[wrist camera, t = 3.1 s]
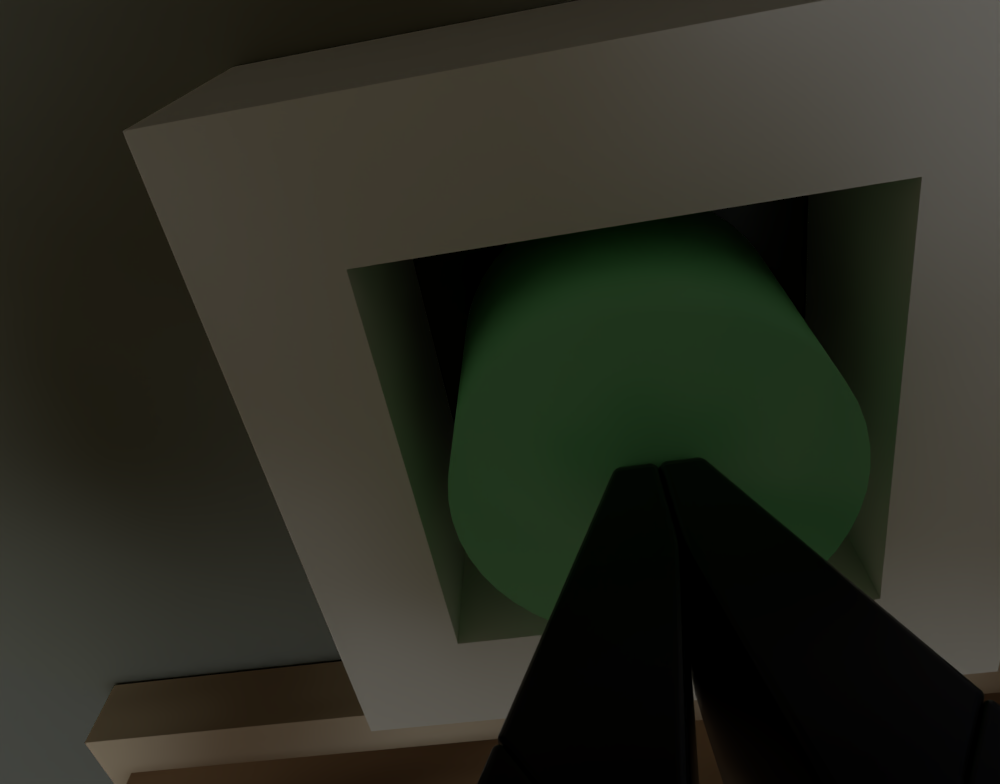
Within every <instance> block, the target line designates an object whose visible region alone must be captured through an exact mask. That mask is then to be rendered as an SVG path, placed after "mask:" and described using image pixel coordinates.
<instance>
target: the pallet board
mask: <svg viewBox="0 0 1000 784" xmlns="http://www.w3.org/2000/svg"><path fill="white" fill-rule="evenodd" d="M964 676H965V677H966V678H967V679H968V680H970V681H971V682H972V683H973V684H974V685H976V686H977V687H978V688H979V689H980V690H982V691H983V693H984V696H985V697H984V702H985V701H986V700H994V701H995V702H997V703H998V704H999V705H1000V663H999V668H998V671H997V672H986V673H976V674H966V675H964ZM983 704H984V703H983ZM694 709H695V722H696V738H697V755H698V772H699V784H723V781H722V778H721V775H720V772H719V769H718V766H717V763H716V759H715V756H714V753H713V750H712V747H711V744H710V741H709V738H708V735H707V731H706V728H705V725H704V722H703V719H702V715H701V712H700V709H699V705H698V702H697V700H694ZM505 719H506V718H505ZM505 719H495V720H484V721H474V722H463V723H453V724H442V725H432V726H421V727H411V728H401V729H390V730H380V731H371V730H370V727H369V725H368V722H367V720H366V718H365V715H364V713H363V710H362V708H361V705H360V703H359V701H358V698H357V696H356V693H355V691H354V689H353V686H352V684H351V681H350V679H349V677H348V674H347V672H346V669H345V667H344V665H343V662H342V661H339V662H330V663H320V664H311V665H301V666H292V667H282V668H273V669H263V670H254V671H245V672H235V673H226V674H216V675H207V676H197V677H188V678H178V679H169V680H160V681H150V682H141V683H131V684H122V685H114V687H113V689H112V691H111V693H110V695H109V697H108V699H107V701H106V702H105V704H104V706H103V708H102V710H101V712H100V714H99V716H98V718H97V720H96V722H95V724H94V726H93V728H92V730H91V732H90V734H89V736H88V737H87V739H86V741H85V744H86V745H87V747H88V748H89V749H90V751H91V752H92V754H93V755H94V756H95V758H96V759H97V761H98V762H99V763H100V765H101V766H102V768H103V769H104V770H105V772H106V773H107V774H108V776H109V777H110V779H111V780H112V781H113V783H114V784H477V782H478V780H479V778H480V775H481V773H482V771H483V769H484V766H485V764H486V762H487V759H488V757H489V755H490V752H491V750H492V748H493V747H494V746H495V745H499V744H498V735H499V733H500V731H501V728H502V726H503V724H504V721H505Z"/></svg>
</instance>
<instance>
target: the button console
mask: <svg viewBox="0 0 1000 784" xmlns="http://www.w3.org/2000/svg"><path fill="white" fill-rule="evenodd" d="M122 132H123V134H124V137H125V139H126V142H127V144H128V146H129V149H130V151H131V154H132V156H133V158H134V161H135V163H136V166H137V168H138V170H139V173H140V175H141V178H142V180H143V183H144V185H145V187H146V190H147V192H148V195H149V197H150V199H151V202H152V204H153V207H154V209H155V211H156V214H157V216H158V219H159V221H160V223H161V226H162V228H163V231H164V233H165V236H166V238H167V240H168V243H169V245H170V248H171V250H172V252H173V255H174V257H175V260H176V262H177V264H178V267H179V269H180V272H181V274H182V276H183V279H184V281H185V284H186V286H187V289H188V291H189V293H190V296H191V298H192V301H193V303H194V305H195V308H196V310H197V313H198V315H199V317H200V320H201V322H202V325H203V327H204V330H205V332H206V334H207V337H208V339H209V342H210V344H211V346H212V349H213V351H214V354H215V356H216V358H217V361H218V363H219V366H220V368H221V370H222V373H223V375H224V378H225V380H226V383H227V385H228V387H229V390H230V392H231V395H232V397H233V399H234V402H235V404H236V407H237V409H238V411H239V414H240V416H241V419H242V421H243V424H244V426H245V428H246V431H247V433H248V436H249V438H250V440H251V443H252V445H253V448H254V450H255V452H256V455H257V457H258V460H259V462H260V464H261V467H262V469H263V472H264V474H265V477H266V479H267V481H268V484H269V486H270V489H271V491H272V493H273V496H274V498H275V501H276V503H277V505H278V508H279V510H280V513H281V515H282V518H283V520H284V522H285V525H286V527H287V530H288V532H289V534H290V537H291V539H292V542H293V544H294V546H295V549H296V551H297V554H298V556H299V558H300V561H301V563H302V566H303V568H304V571H305V573H306V575H307V578H308V580H309V583H310V585H311V587H312V590H313V592H314V595H315V597H316V599H317V602H318V604H319V607H320V609H321V612H322V614H323V616H324V619H325V621H326V624H327V626H328V628H329V631H330V633H331V636H332V638H333V640H334V643H335V645H336V648H337V650H338V652H339V655H340V657H341V660H342V662H343V665H344V667H345V669H346V672H347V674H348V677H349V679H350V681H351V684H352V686H353V689H354V691H355V693H356V696H357V698H358V701H359V703H360V705H361V708H362V710H363V713H364V715H365V718H366V720H367V722H368V725H369V727H370V730H371V731H380V730H390V729H401V728H411V727H421V726H432V725H442V724H453V723H463V722H474V721H484V720H495V719H505V718H506V717H507V714H508V712H509V710H510V708H511V705H512V703H513V701H514V698H515V696H516V694H517V691H518V689H519V687H520V684H521V682H522V680H523V678H524V675H525V673H526V671H527V668H528V666H529V664H530V661H531V659H532V657H533V655H534V652H535V650H536V648H537V645H538V643H539V641H540V638H541V636H542V634H543V631H544V629H545V627H546V625H547V622H548V620H546V619H544V618H542V617H540V616H538V615H535V614H533V613H531V612H530V611H528V610H526V609H524V608H523V607H521V606H519V605H518V604H516V603H514V602H513V601H512V600H510V599H509V598H508V597H506V596H505V595H504V594H502V593H501V592H500V591H498V590H497V589H496V588H495V587H494V586H493V585H492V584H491V583H490V582H489V581H488V580H487V579H486V578H485V577H484V576H483V575H482V574H481V573H480V571H479V570H478V569H477V567H476V566H475V565H474V564H473V562H472V561H471V560H470V558H469V557H468V555H467V553H466V551H465V549H464V548H463V546H462V544H461V542H460V540H459V538H458V535H457V532H456V530H455V527H454V524H453V521H452V517H451V512H450V506H449V501H448V473H449V464H450V456H451V448H452V440H453V432H454V422H453V418H452V414H451V410H450V406H449V402H448V398H447V394H446V390H445V386H444V382H443V378H442V374H441V370H440V366H439V362H438V358H437V354H436V350H435V346H434V342H433V338H432V334H431V330H430V326H429V322H428V318H427V314H426V310H425V306H424V302H423V298H422V294H421V290H420V286H419V282H418V278H417V274H416V270H415V266H414V262H413V259H414V258H421V257H427V256H433V255H439V254H445V253H452V252H458V251H464V250H470V249H476V248H483V247H489V246H495V245H501V244H507V243H514V242H520V241H526V240H532V239H539V238H545V237H551V236H557V235H563V234H570V233H576V232H582V231H588V230H594V229H601V228H607V227H613V226H619V225H625V224H632V223H638V222H644V221H650V220H656V219H663V218H669V217H675V216H681V215H687V214H694V213H700V212H706V211H712V210H718V209H725V208H731V207H737V206H743V205H750V204H756V203H762V202H768V201H774V200H781V199H787V198H793V197H799V196H805V195H808V223H807V264H806V305H805V322H806V323H807V325H808V326H809V328H810V329H811V331H812V332H813V334H814V335H815V337H816V338H817V339H818V341H819V342H820V344H821V345H822V347H823V348H824V350H825V351H826V353H827V354H828V356H829V357H830V359H831V360H832V362H833V363H834V365H835V366H836V367H837V369H838V370H839V372H840V373H841V375H842V376H843V378H844V379H845V381H846V382H847V384H848V386H849V387H850V389H851V391H852V392H853V394H854V396H855V397H856V399H857V401H858V403H859V405H860V408H861V411H862V413H863V416H864V419H865V421H866V424H867V430H868V435H869V441H870V463H871V468H870V474H869V480H868V487H867V491H866V494H865V497H864V500H863V503H862V506H861V509H860V512H859V514H858V516H857V518H856V520H855V522H854V524H853V526H852V528H851V530H850V532H849V533H848V535H847V536H846V537H845V539H844V540H843V542H842V543H841V545H840V546H839V548H838V549H837V550H836V552H835V553H834V554H833V555H832V556H831V557H830V558H829V559H828V561H827V562H829V563H830V564H831V565H832V566H833V567H835V568H836V569H837V570H838V571H839V572H841V573H842V574H843V575H844V576H845V577H847V578H848V579H849V580H850V581H851V582H853V583H854V584H855V585H856V586H857V587H858V588H860V589H861V590H862V591H863V592H864V593H866V594H867V595H868V596H869V597H870V598H872V599H873V600H874V601H875V602H876V603H878V604H879V605H880V606H881V607H882V608H884V609H885V610H886V611H887V612H888V613H890V614H891V615H892V616H893V617H894V618H896V619H897V620H898V621H899V622H900V623H902V624H903V625H904V626H905V627H906V628H907V629H909V630H910V631H911V632H912V633H913V634H915V635H916V636H917V637H918V638H919V639H921V640H922V641H923V642H924V643H925V644H927V645H928V646H929V647H930V648H931V649H933V650H934V651H935V652H936V653H937V654H939V655H940V656H941V657H942V658H943V659H945V660H946V661H947V662H948V663H949V664H951V665H952V666H953V667H954V668H955V669H957V670H958V671H959V672H960V673H961V674H962V675H966V674H976V673H986V672H997V671H998V668H999V663H1000V0H577V1H571V2H566V3H561V4H556V5H551V6H546V7H540V8H535V9H530V10H525V11H520V12H514V13H509V14H504V15H499V16H494V17H488V18H483V19H478V20H473V21H468V22H463V23H457V24H452V25H447V26H442V27H437V28H431V29H426V30H421V31H416V32H411V33H406V34H400V35H395V36H390V37H385V38H380V39H374V40H369V41H364V42H359V43H354V44H349V45H343V46H338V47H333V48H328V49H323V50H317V51H312V52H307V53H302V54H297V55H291V56H286V57H281V58H276V59H271V60H266V61H260V62H255V63H250V64H245V65H240V66H234V67H232V68H230V69H228V70H226V71H225V72H223V73H221V74H220V75H218V76H216V77H214V78H213V79H211V80H209V81H208V82H206V83H204V84H202V85H201V86H199V87H197V88H196V89H194V90H192V91H190V92H189V93H187V94H185V95H184V96H182V97H180V98H178V99H177V100H175V101H173V102H172V103H170V104H168V105H166V106H165V107H163V108H161V109H160V110H158V111H156V112H154V113H153V114H151V115H149V116H148V117H146V118H144V119H142V120H141V121H139V122H137V123H136V124H134V125H132V126H130V127H129V128H127V129H125V130H124V131H122ZM692 684H693V682H692ZM693 696H694V700H697V698H696V695H695V690H694V686H693Z"/></svg>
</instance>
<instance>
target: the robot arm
mask: <svg viewBox="0 0 1000 784" xmlns="http://www.w3.org/2000/svg"><path fill="white" fill-rule="evenodd" d="M692 682H693V684H692ZM693 686H694V690H695V695H696V698H697V702H698V705H699V709H700V712H701V715H702V719H703V722H704V725H705V728H706V731H707V735H708V738H709V741H710V744H711V747H712V750H713V753H714V756H715V759H716V763H717V766H718V769H719V772H720V775H721V778H722V781H723V784H1000V705H999V704H998V703H997V702H995V701H994V700H986V701H985V702H984V697H985V696H984V693H983V691H982V690H980V689H979V688H978V687H977V686H976V685H974V684H973V683H972V682H971V681H970V680H968V679H967V678H966V677H965V676H964V675H962V674H961V673H960V672H959V671H958V670H957V669H955V668H954V667H953V666H952V665H951V664H949V663H948V662H947V661H946V660H945V659H943V658H942V657H941V656H940V655H939V654H937V653H936V652H935V651H934V650H933V649H931V648H930V647H929V646H928V645H927V644H925V643H924V642H923V641H922V640H921V639H919V638H918V637H917V636H916V635H915V634H913V633H912V632H911V631H910V630H909V629H907V628H906V627H905V626H904V625H903V624H902V623H900V622H899V621H898V620H897V619H896V618H894V617H893V616H892V615H891V614H890V613H888V612H887V611H886V610H885V609H884V608H882V607H881V606H880V605H879V604H878V603H876V602H875V601H874V600H873V599H872V598H870V597H869V596H868V595H867V594H866V593H864V592H863V591H862V590H861V589H860V588H858V587H857V586H856V585H855V584H854V583H853V582H851V581H850V580H849V579H848V578H847V577H845V576H844V575H843V574H842V573H841V572H839V571H838V570H837V569H836V568H835V567H833V566H832V565H831V564H830V563H829V562H827V561H826V560H825V559H824V558H823V557H821V556H820V555H819V554H818V553H817V552H815V551H814V550H813V549H812V548H811V547H809V546H808V545H807V544H806V543H805V542H803V541H802V540H801V539H800V538H799V537H798V536H796V535H795V534H794V533H793V532H792V531H790V530H789V529H788V528H787V527H786V526H784V525H783V524H782V523H781V522H780V521H778V520H777V519H776V518H775V517H774V516H772V515H771V514H770V513H769V512H768V511H766V510H765V509H764V508H763V507H762V506H760V505H759V504H758V503H757V502H756V501H754V500H753V499H752V498H751V497H750V496H748V495H747V494H746V493H745V492H744V491H743V490H741V489H740V488H739V487H738V486H737V485H735V484H734V483H733V482H732V481H731V480H729V479H728V478H727V477H726V476H725V475H723V474H722V473H721V472H720V471H719V470H717V469H716V468H715V467H714V466H713V465H711V464H710V463H709V462H708V461H707V460H705V459H703V458H700V457H695V458H687V459H679V460H672V461H665V462H663V463H662V464H661V465H660V467H659V468H658V467H657V466H656V465H655V464H652V463H648V464H640V465H633V466H625V467H619V468H617V469H615V470H614V471H613V473H612V475H611V477H610V479H609V482H608V484H607V486H606V489H605V491H604V493H603V496H602V498H601V500H600V502H599V505H598V507H597V509H596V512H595V514H594V516H593V519H592V521H591V523H590V525H589V528H588V530H587V532H586V535H585V537H584V539H583V542H582V544H581V546H580V549H579V551H578V553H577V555H576V558H575V560H574V562H573V565H572V567H571V569H570V572H569V574H568V576H567V578H566V581H565V583H564V585H563V588H562V590H561V592H560V595H559V597H558V599H557V602H556V604H555V606H554V608H553V611H552V613H551V615H550V618H549V620H548V622H547V625H546V627H545V629H544V631H543V634H542V636H541V638H540V641H539V643H538V645H537V648H536V650H535V652H534V655H533V657H532V659H531V661H530V664H529V666H528V668H527V671H526V673H525V675H524V678H523V680H522V682H521V684H520V687H519V689H518V691H517V694H516V696H515V698H514V701H513V703H512V705H511V708H510V710H509V712H508V714H507V717H506V719H505V721H504V724H503V726H502V728H501V731H500V733H499V735H498V744H499V745H495V746H494V747H493V748H492V750H491V752H490V755H489V757H488V759H487V762H486V764H485V766H484V769H483V771H482V773H481V775H480V778H479V780H478V782H477V784H699V772H698V755H697V738H696V722H695V709H694V696H693ZM983 703H984V704H983Z"/></svg>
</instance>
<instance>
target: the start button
mask: <svg viewBox="0 0 1000 784" xmlns="http://www.w3.org/2000/svg"><path fill="white" fill-rule="evenodd" d="M695 457H700V458H703V459H705V460H707V461H708V462H709V463H710V464H711V465H713V466H714V467H715V468H716V469H717V470H719V471H720V472H721V473H722V474H723V475H725V476H726V477H727V478H728V479H729V480H731V481H732V482H733V483H734V484H735V485H737V486H738V487H739V488H740V489H741V490H743V491H744V492H745V493H746V494H747V495H748V496H750V497H751V498H752V499H753V500H754V501H756V502H757V503H758V504H759V505H760V506H762V507H763V508H764V509H765V510H766V511H768V512H769V513H770V514H771V515H772V516H774V517H775V518H776V519H777V520H778V521H780V522H781V523H782V524H783V525H784V526H786V527H787V528H788V529H789V530H790V531H792V532H793V533H794V534H795V535H796V536H798V537H799V538H800V539H801V540H802V541H803V542H805V543H806V544H807V545H808V546H809V547H811V548H812V549H813V550H814V551H815V552H817V553H818V554H819V555H820V556H821V557H823V558H824V559H825V560H826V561H828V559H829V558H830V557H831V556H832V555H833V554H834V553H835V552H836V550H837V549H838V548H839V546H840V545H841V543H842V542H843V540H844V539H845V537H846V536H847V535H848V533H849V532H850V530H851V528H852V526H853V524H854V522H855V520H856V518H857V516H858V514H859V512H860V509H861V506H862V503H863V500H864V497H865V494H866V491H867V487H868V480H869V474H870V468H871V463H870V441H869V435H868V430H867V424H866V421H865V419H864V416H863V413H862V411H861V408H860V405H859V403H858V401H857V399H856V397H855V396H854V394H853V392H852V391H851V389H850V387H849V386H848V384H847V382H846V381H845V379H844V378H843V376H842V375H841V373H840V372H839V370H838V369H837V367H836V366H835V365H834V363H833V362H832V360H831V359H830V357H829V356H828V354H827V353H826V351H825V350H824V348H823V347H822V345H821V344H820V342H819V341H818V339H817V338H816V337H815V335H814V334H813V332H812V331H811V329H810V328H809V326H808V325H807V323H806V322H805V320H804V319H803V317H802V316H801V314H800V313H799V312H798V310H797V309H796V307H795V306H794V304H793V303H792V301H791V300H790V298H789V297H788V295H787V294H786V292H785V291H784V289H783V288H782V287H781V285H780V284H779V282H778V281H777V279H776V278H775V276H774V275H773V273H772V272H771V270H770V269H769V267H768V266H767V264H766V263H765V262H764V260H763V259H762V257H761V256H760V254H759V253H758V251H757V250H756V249H755V248H754V247H753V245H752V244H751V243H750V242H749V241H748V239H747V238H746V237H745V236H744V235H742V234H741V233H740V232H739V231H738V230H737V229H736V228H735V227H733V226H732V225H731V224H730V223H728V222H727V221H725V220H724V219H722V218H720V217H719V216H717V215H716V214H714V213H713V212H711V211H706V212H700V213H694V214H687V215H681V216H675V217H669V218H663V219H656V220H650V221H644V222H638V223H632V224H625V225H619V226H613V227H607V228H601V229H594V230H588V231H582V232H576V233H570V234H563V235H557V236H551V237H545V238H539V239H532V240H526V241H520V242H514V243H509V244H508V245H507V246H506V247H505V248H504V249H503V250H502V252H501V253H500V254H499V255H498V256H497V257H496V259H495V260H494V261H493V262H492V264H491V265H490V267H489V269H488V270H487V272H486V273H485V275H484V276H483V278H482V280H481V282H480V284H479V286H478V288H477V291H476V293H475V295H474V297H473V301H472V304H471V307H470V311H469V314H468V320H467V327H466V334H465V342H464V350H463V359H462V367H461V375H460V383H459V391H458V399H457V407H456V416H455V424H454V432H453V440H452V448H451V456H450V464H449V473H448V501H449V506H450V512H451V517H452V521H453V524H454V527H455V530H456V532H457V535H458V538H459V540H460V542H461V544H462V546H463V548H464V549H465V551H466V553H467V555H468V557H469V558H470V560H471V561H472V562H473V564H474V565H475V566H476V567H477V569H478V570H479V571H480V573H481V574H482V575H483V576H484V577H485V578H486V579H487V580H488V581H489V582H490V583H491V584H492V585H493V586H494V587H495V588H496V589H497V590H498V591H500V592H501V593H502V594H504V595H505V596H506V597H508V598H509V599H510V600H512V601H513V602H514V603H516V604H518V605H519V606H521V607H523V608H524V609H526V610H528V611H530V612H531V613H533V614H535V615H538V616H540V617H542V618H544V619H546V620H549V618H550V615H551V613H552V611H553V608H554V606H555V604H556V602H557V599H558V597H559V595H560V592H561V590H562V588H563V585H564V583H565V581H566V578H567V576H568V574H569V572H570V569H571V567H572V565H573V562H574V560H575V558H576V555H577V553H578V551H579V549H580V546H581V544H582V542H583V539H584V537H585V535H586V532H587V530H588V528H589V525H590V523H591V521H592V519H593V516H594V514H595V512H596V509H597V507H598V505H599V502H600V500H601V498H602V496H603V493H604V491H605V489H606V486H607V484H608V482H609V479H610V477H611V475H612V473H613V471H614V470H615V469H617V468H619V467H625V466H633V465H640V464H648V463H652V464H655V465H656V466H657V467H658V468H659V467H660V465H661V464H662V463H663V462H665V461H672V460H679V459H687V458H695Z"/></svg>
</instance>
